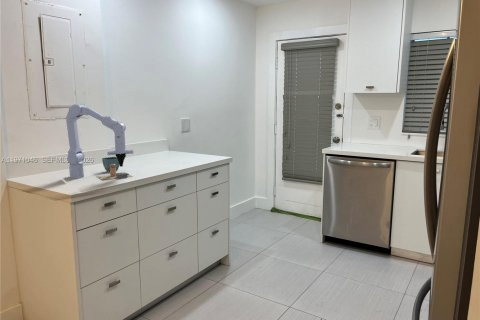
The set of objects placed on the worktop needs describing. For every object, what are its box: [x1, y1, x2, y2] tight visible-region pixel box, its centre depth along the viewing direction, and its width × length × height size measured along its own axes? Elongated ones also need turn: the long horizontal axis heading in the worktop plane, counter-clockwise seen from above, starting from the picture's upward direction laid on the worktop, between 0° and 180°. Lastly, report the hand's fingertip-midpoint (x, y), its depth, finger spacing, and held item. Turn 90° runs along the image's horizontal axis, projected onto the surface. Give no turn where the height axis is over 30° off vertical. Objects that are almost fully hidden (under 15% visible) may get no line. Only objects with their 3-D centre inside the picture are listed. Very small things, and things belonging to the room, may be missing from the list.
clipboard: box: [95, 172, 134, 182], centre depth 217 cm, size 14×18×1 cm
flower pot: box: [101, 156, 120, 173], centre depth 235 cm, size 9×9×9 cm
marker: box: [109, 164, 117, 176], centre depth 218 cm, size 3×3×7 cm
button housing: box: [116, 171, 129, 180], centre depth 215 cm, size 5×5×2 cm
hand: (121, 166), depth 214 cm, fingers closed
